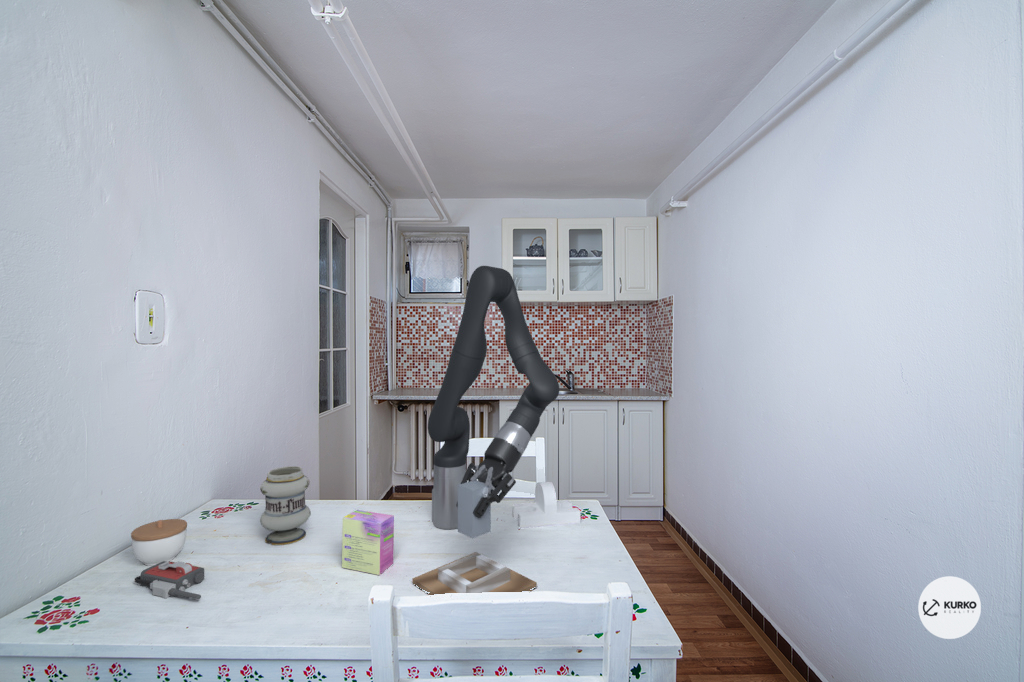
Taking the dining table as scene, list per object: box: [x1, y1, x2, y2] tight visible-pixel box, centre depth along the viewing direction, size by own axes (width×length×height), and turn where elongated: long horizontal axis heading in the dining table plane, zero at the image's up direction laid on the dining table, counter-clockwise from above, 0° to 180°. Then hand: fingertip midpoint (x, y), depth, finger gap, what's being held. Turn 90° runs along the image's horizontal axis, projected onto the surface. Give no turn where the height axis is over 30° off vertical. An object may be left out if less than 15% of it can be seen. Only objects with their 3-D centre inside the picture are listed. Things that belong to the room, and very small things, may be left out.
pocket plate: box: [411, 551, 538, 596], centre depth 100 cm, size 20×18×4 cm
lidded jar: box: [130, 518, 188, 567], centre depth 112 cm, size 11×11×9 cm
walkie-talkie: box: [134, 560, 205, 600], centre depth 100 cm, size 9×4×20 cm
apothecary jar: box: [259, 465, 311, 546], centre depth 124 cm, size 12×12×18 cm
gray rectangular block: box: [457, 480, 492, 539], centre depth 100 cm, size 5×5×10 cm
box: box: [341, 509, 395, 576], centre depth 109 cm, size 10×6×12 cm, turn 71°
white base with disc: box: [512, 481, 581, 529], centre depth 138 cm, size 18×10×11 cm, turn 103°
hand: (467, 512), depth 99 cm, fingers closed on gray rectangular block, 5 cm apart
